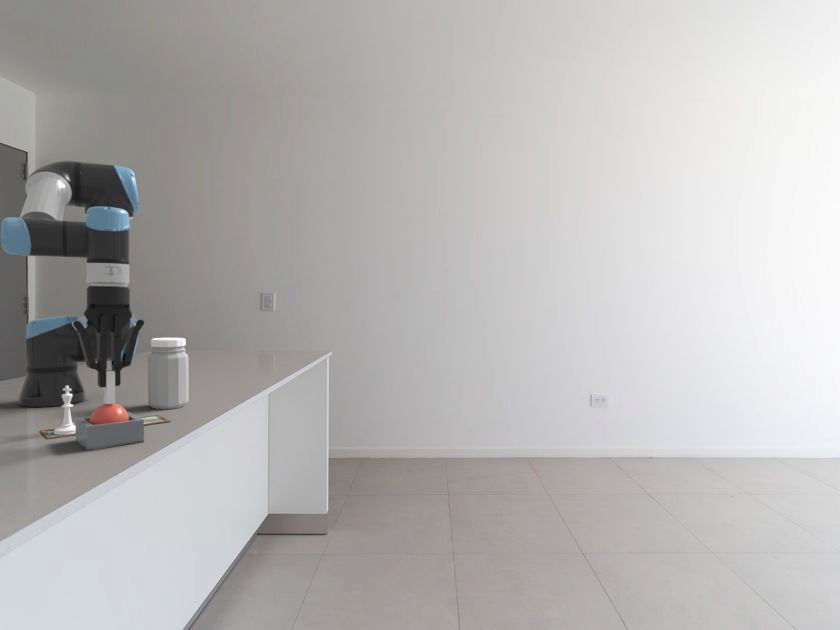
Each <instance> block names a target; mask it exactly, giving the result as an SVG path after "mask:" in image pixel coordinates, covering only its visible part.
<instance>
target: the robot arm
mask: <svg viewBox="0 0 840 630" xmlns="http://www.w3.org/2000/svg"><path fill="white" fill-rule="evenodd" d="M24 188H25V189H24V191H25V194H26V199H25V200H24V204H23V207H22V210H21V212H20V216H16V217H12V216H10V217H5V218H3V219H2V220H1V227H0V239H1V247H2V250H3V251H4V252H5V253H6V254H8V255H13V256H14V255H17V256H23V257H54V258H56V257H57V258H58V257H61V258H62V257H63V258H81V259H82V258H83V259H86V283H87V284H89V286H87V288H86V308H85V311H84V313H83V316H81V317H80V318H78V316H77V315H76V314H75V315H74V314H72V315H62V316H51V317H45V318H39V319H33V320H30V321H29V322H28V323H27V324H26V329H25V330H26V331H25V332H26V335H25V341H26V342H25V343H26V345H25V346H26V347H25V348H26V356H25V357H26V360H25V361H26V362H25V363H26V367H25V368H26V374H25V375H26V376H25V378H24V382H23V383H22V387H21V390H20V391H19V395H18V406H22V407H27V408H28V407H29V408H30V407H31V408H35V407H36V408H38V407H39V408H42V407H44V408H45V407H57V406H58V407H59V406H62V405H64V404H65V403H64V401H63V398H62V395H63V394H65V391H63V389H64V388H65V386H69V389H71V391H69V393H70V394H72V395H73V396H72V398H71V402H70V404H72V405H73V404H77V403H80V402H83V401H85V400H86V390H85V387H84V384H83V382H82V379H81V376H80V375H79V372H78V371H79V368H78V364H79V363H86V366H87V368H89V369H92V370H96V372H97V385H98V387H99V388H103V396H102V397H103V403H104V404H116V387H120V386H121V378H122V377H121V376H122V375H121V371H122V370H123V369H124V368H126V367H130V366H131V364H132V360H133V358H134V356H135V354H136V350H137V344H138V340H139V339H138V338H139V334H140V333H139V332H140V331H141V329H142V327H143V326H144V325H145V321H144V319H140V318H137V317H136V316H134V313H133V312H132V309H131V306H130V305H131V300H130V299H131V297H130V296H131V293H130V292H131V289H130V288H129V287H128V285H129V284H130V281H131V280H130V228H131V223H130V222H131V221H132V220H133V219H134V212H135V213H136V212H139V211H140V203H139V202H140V201H139V194H138V193H139V192H138V187H137V179H136V176H135V172H134V171H133V170H132V169H131V168H129V167H125V166H119V165H115V164H114V165H111V164H103V163H92V162H82V161H74V160H61V161H55V162H52V163H48V164H46V165H43V166H41V167H39V168H37V169H36V170H34V171H33V172H32V173H31V174H30V175H28V178H27V180H26V182H25V187H24ZM65 206H66V207H77V208H84V215H85V217H86V219H85V221H74V220H71V221H70V220H63V218H64V213H65V208H66V207H65ZM108 362H111V369H108Z"/></svg>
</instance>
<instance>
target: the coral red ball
mask: <svg viewBox="0 0 840 630" xmlns="http://www.w3.org/2000/svg"><path fill="white" fill-rule="evenodd" d="M127 412H128V411H127V409H125V408H124V407H123V406H122V405H120V404H119V403H118V404H117V403H114V404H106V403H104V404H101V405H99V406H98V407H97V408H95V409H94V411H92V413H91V415H90V416H91V417H90V416H89V417H90V421H89V423H90V424H92V425H98V424H106V423H114V422H121V421H129V415H128V413H127Z"/></svg>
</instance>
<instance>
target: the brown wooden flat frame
mask: <svg viewBox="0 0 840 630" xmlns="http://www.w3.org/2000/svg"><path fill="white" fill-rule="evenodd" d="M139 417H140V416H139ZM140 418H141V419H143V420H144V427H146V426H151V425H152V424H153V425H159V424H166V423H171V420H169V419H167V418H166V417H163V416H162V415H159V414H155V415H148V416H141V417H140ZM56 428H57V427H55V428H47V429H46V428H45V429H40V430H39V432H40V433H41V434H42V435H43V436H44V438H46V439H47V440H50V439H51V440H52V439H57V438H65V437H72V436H76V433H74V434H67V435H55V436H54V435H53V436H51V435H50V434H49V433H48V432H47V431H49V432H51V431H54V430H55V429H56Z"/></svg>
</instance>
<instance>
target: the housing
mask: <svg viewBox="0 0 840 630" xmlns="http://www.w3.org/2000/svg"><path fill="white" fill-rule="evenodd" d="M127 413H128V415H129V421H121V422H114V423H106V424H98V425H92V424H90V423H89V421H90V417H91V415H90V416H84V417H83V416H82V417H77V418H74V419H75V421H74V422H75V423H74V424H75V426H76V435H75V441H76V442H77V443H78V444H79V445H80V446H81V447H83V449H85V450H86V451H87V452H90V451H94V450H95V451H96V450H100V449H101V450H102V449H108V448H114V447H121V446H126V445H132V444H133V445H134V444H139V443H145V426H144V420H143V419H141V418H140V416H138V415H136V414H134V413H132V412H131V411H127Z"/></svg>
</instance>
